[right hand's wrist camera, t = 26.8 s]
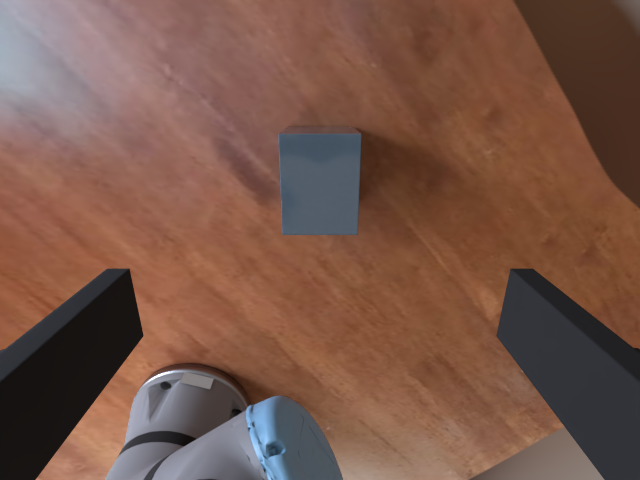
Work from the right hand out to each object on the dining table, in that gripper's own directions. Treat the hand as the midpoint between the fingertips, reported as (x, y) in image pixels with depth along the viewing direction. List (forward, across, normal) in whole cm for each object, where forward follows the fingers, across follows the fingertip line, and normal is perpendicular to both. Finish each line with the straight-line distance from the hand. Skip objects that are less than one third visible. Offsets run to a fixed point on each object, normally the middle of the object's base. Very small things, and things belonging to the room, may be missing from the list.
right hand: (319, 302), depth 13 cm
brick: (+26, 0, 0) cm, 26 cm away
